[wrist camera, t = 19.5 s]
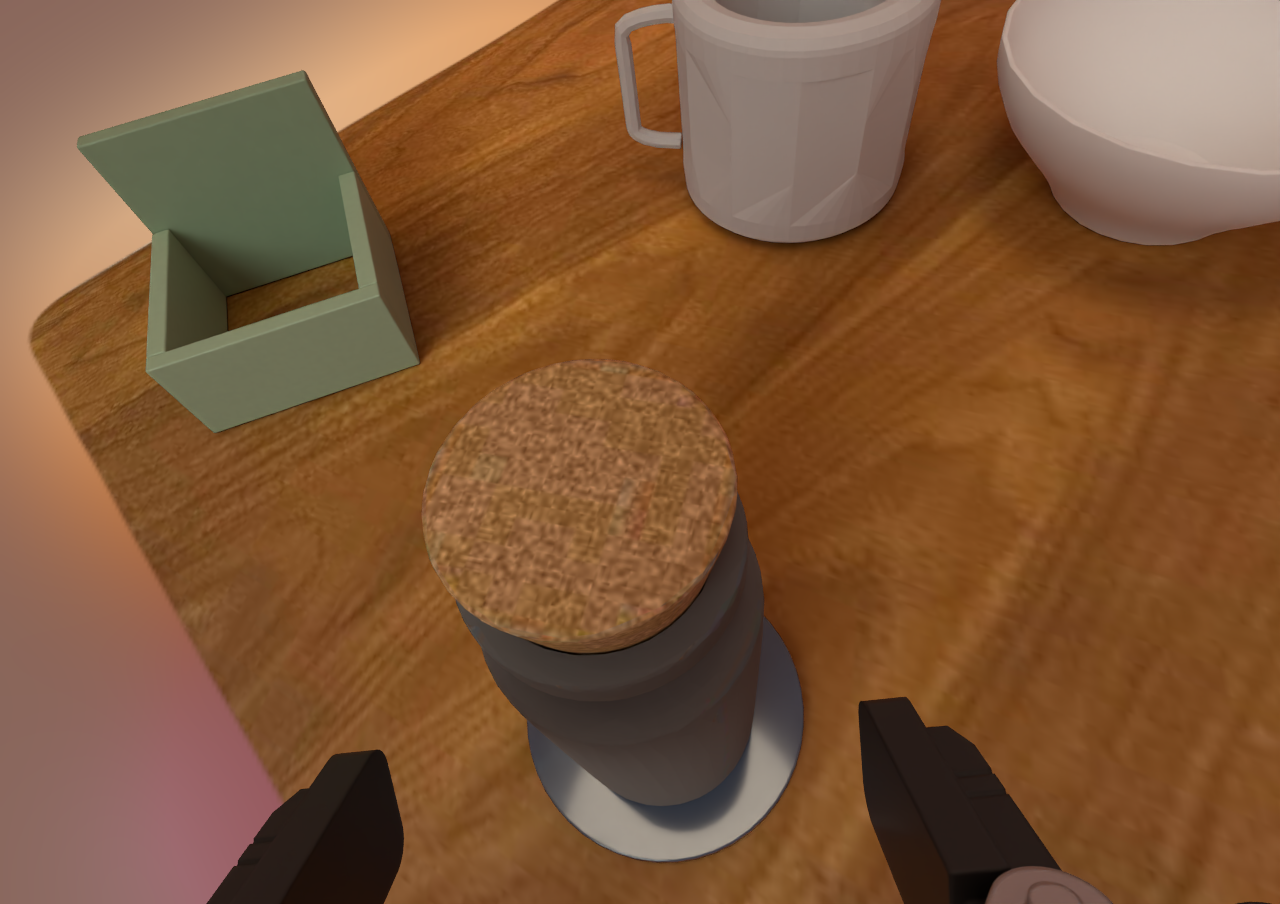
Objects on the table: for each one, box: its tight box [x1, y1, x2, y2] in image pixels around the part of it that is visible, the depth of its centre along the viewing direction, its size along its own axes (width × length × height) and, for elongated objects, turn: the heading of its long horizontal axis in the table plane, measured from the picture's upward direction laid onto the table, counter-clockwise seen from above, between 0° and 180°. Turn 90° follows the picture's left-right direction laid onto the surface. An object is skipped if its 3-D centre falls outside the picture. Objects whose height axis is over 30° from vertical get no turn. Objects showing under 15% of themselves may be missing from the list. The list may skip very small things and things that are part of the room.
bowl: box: [997, 0, 1280, 245], centre depth 31 cm, size 16×16×7 cm
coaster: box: [527, 616, 804, 863], centre depth 24 cm, size 9×9×1 cm
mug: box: [615, 0, 941, 243], centre depth 33 cm, size 14×11×10 cm
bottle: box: [422, 359, 764, 806], centre depth 17 cm, size 6×6×15 cm
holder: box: [77, 71, 420, 433], centre depth 31 cm, size 10×10×9 cm
